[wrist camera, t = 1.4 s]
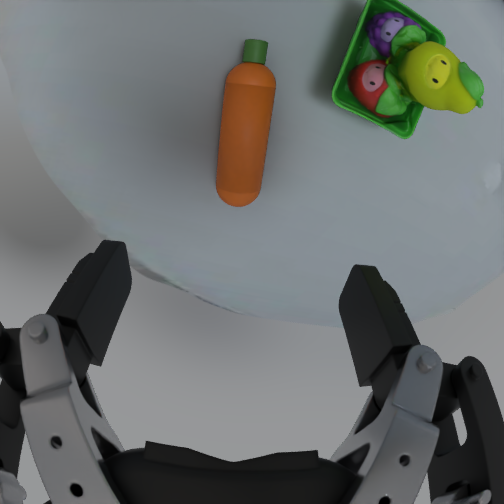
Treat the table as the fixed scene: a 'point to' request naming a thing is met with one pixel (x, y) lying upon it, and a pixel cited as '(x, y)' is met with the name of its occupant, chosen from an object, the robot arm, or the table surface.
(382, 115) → the fruit basket
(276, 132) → the table surface
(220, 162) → the carrot
